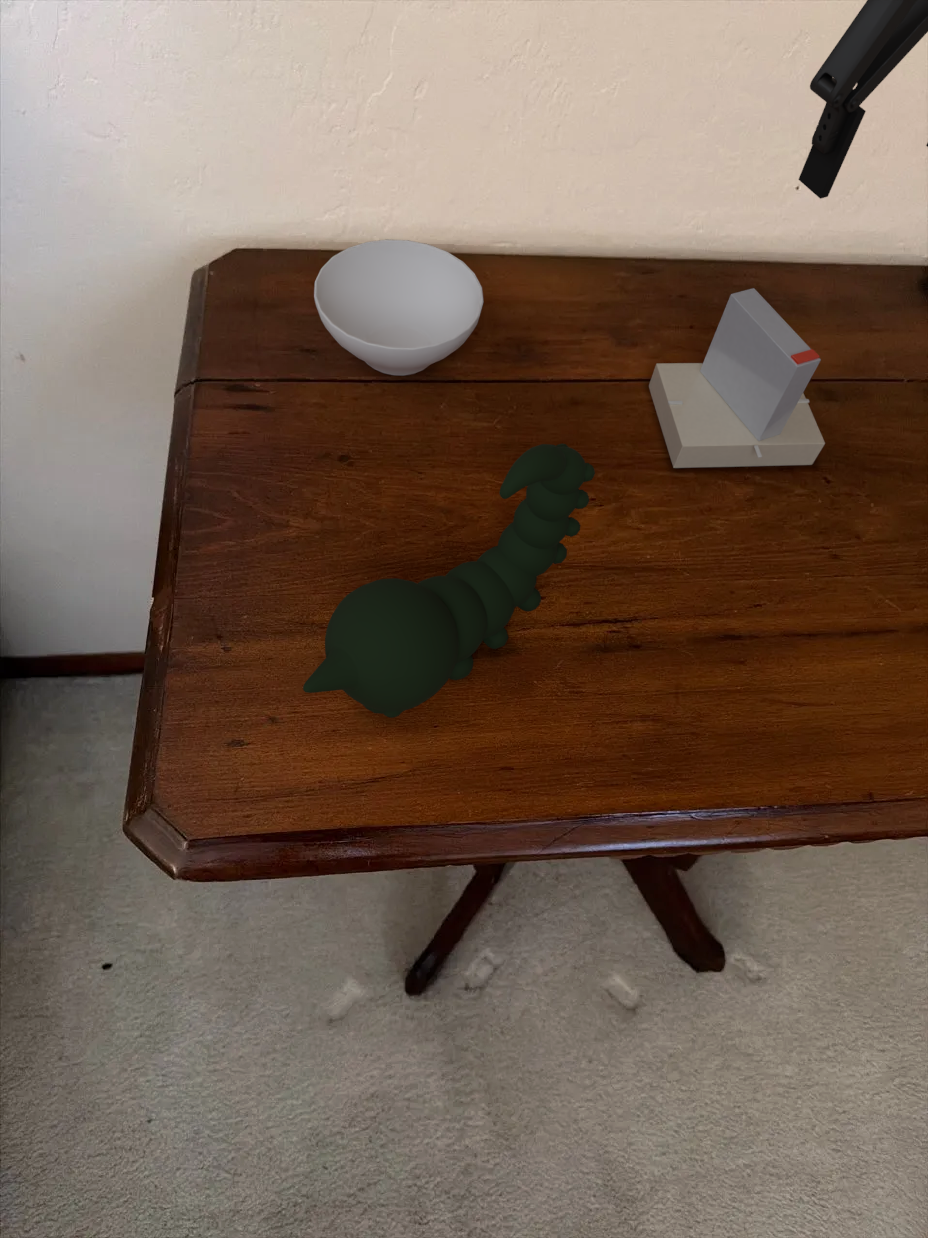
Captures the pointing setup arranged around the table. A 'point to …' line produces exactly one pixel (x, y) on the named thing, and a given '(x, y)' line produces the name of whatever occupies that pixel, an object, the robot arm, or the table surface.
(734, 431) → the base
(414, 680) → the toy figurine
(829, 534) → the table surface
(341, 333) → the bowl
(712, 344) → the leaning grey slab
